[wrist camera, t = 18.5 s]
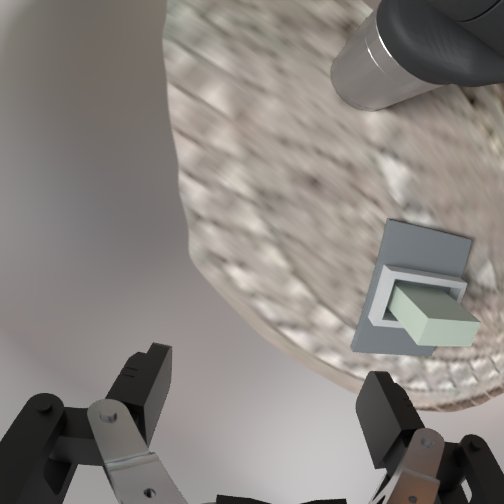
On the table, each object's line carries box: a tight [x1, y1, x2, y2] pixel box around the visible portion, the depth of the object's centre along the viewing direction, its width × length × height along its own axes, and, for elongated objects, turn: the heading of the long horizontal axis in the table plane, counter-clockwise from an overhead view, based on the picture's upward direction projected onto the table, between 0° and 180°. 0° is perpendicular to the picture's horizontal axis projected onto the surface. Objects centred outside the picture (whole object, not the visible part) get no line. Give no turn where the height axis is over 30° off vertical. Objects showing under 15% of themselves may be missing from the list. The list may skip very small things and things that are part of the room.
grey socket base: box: [351, 219, 472, 356], centre depth 41 cm, size 20×15×4 cm
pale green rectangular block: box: [387, 283, 481, 347], centre depth 36 cm, size 4×9×11 cm, turn 81°
